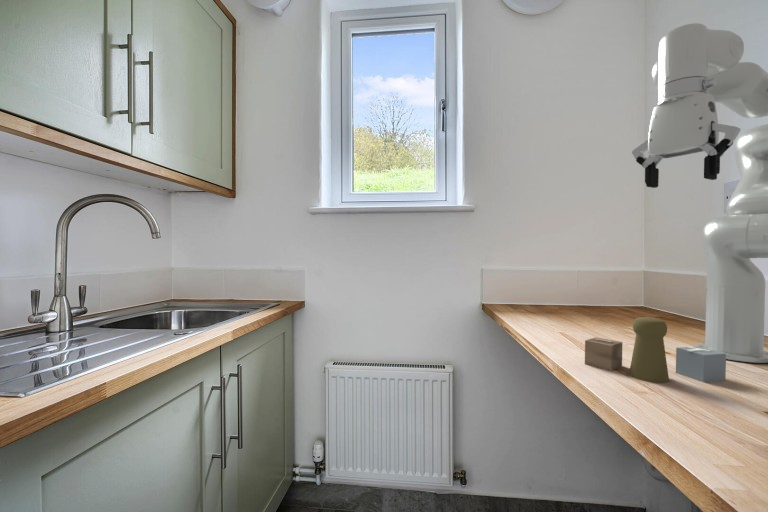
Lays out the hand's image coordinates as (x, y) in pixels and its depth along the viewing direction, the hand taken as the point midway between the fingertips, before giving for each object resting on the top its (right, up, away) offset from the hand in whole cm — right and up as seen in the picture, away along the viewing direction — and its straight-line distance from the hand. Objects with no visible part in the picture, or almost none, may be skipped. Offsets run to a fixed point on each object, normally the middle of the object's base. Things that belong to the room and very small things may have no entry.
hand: (679, 183), depth 71 cm
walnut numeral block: (-13, -37, +3) cm, 39 cm away
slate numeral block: (+1, -37, -3) cm, 37 cm away
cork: (-8, -37, -3) cm, 38 cm away
